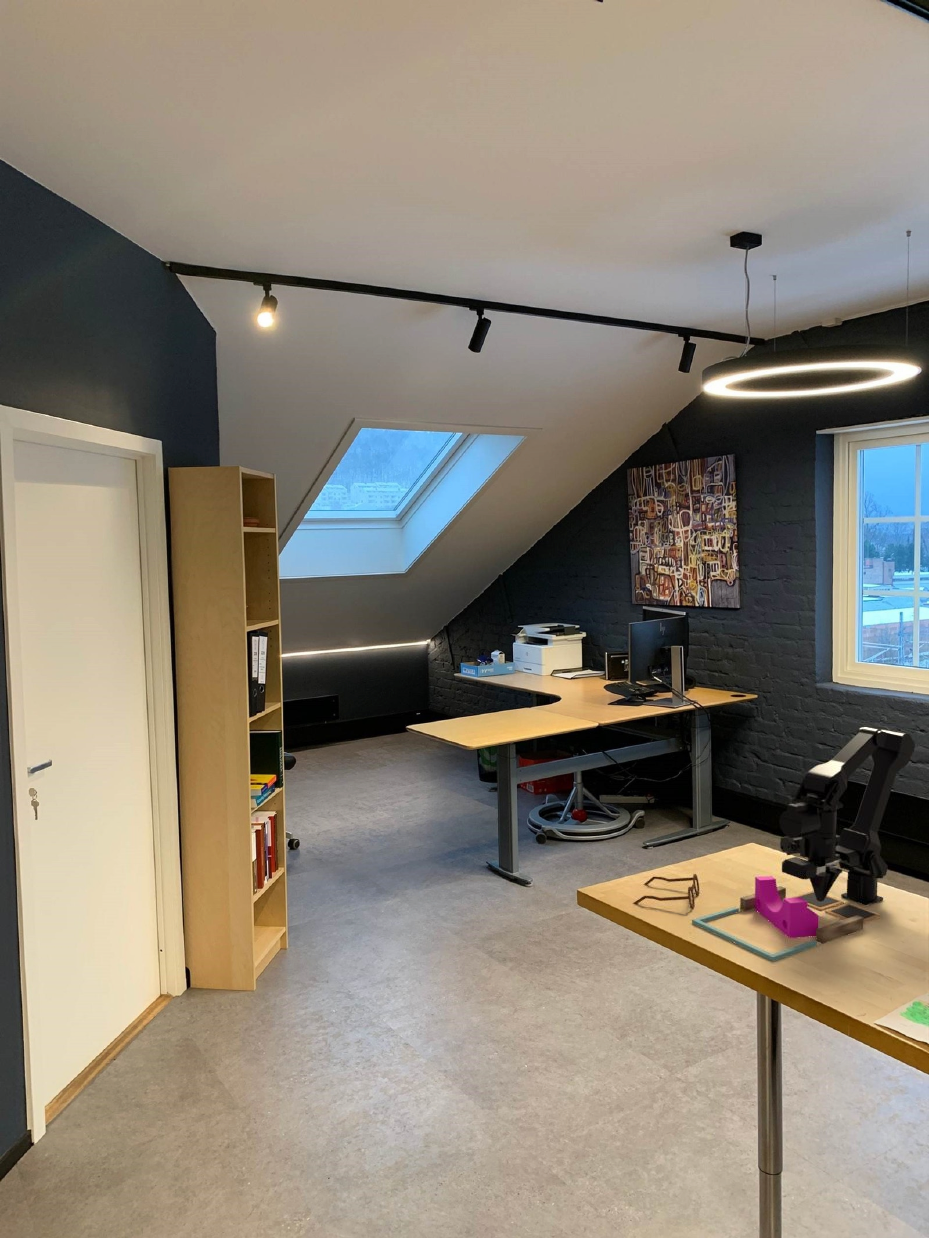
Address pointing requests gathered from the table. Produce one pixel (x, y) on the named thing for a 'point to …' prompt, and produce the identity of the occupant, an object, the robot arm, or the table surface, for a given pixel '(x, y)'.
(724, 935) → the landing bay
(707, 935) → the table surface
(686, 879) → the glasses
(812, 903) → the pit traps
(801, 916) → the toy block
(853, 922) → the channel
